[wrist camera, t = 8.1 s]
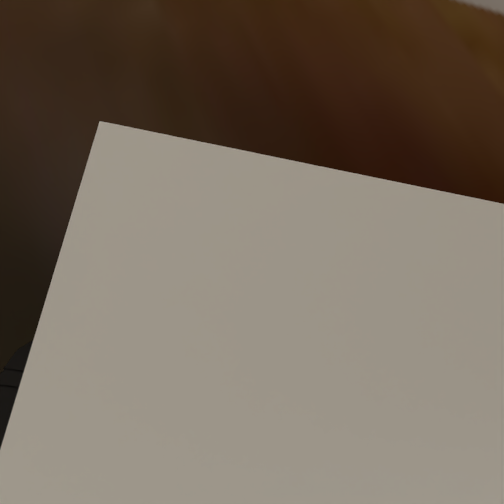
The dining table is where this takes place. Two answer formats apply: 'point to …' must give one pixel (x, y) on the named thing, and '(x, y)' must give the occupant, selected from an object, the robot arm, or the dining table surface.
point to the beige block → (262, 338)
